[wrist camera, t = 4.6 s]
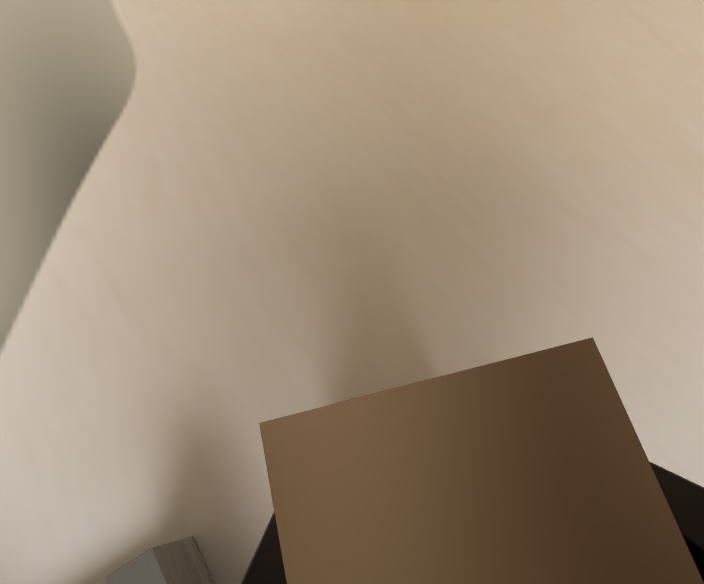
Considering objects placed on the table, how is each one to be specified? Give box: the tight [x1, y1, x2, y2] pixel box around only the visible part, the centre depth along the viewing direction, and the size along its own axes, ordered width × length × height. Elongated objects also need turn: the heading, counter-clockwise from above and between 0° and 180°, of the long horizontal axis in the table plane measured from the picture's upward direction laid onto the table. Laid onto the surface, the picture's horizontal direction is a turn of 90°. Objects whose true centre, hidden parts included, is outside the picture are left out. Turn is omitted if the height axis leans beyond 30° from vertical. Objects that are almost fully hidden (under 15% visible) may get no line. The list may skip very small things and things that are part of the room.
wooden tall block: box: [259, 338, 704, 584], centre depth 10 cm, size 4×5×10 cm
